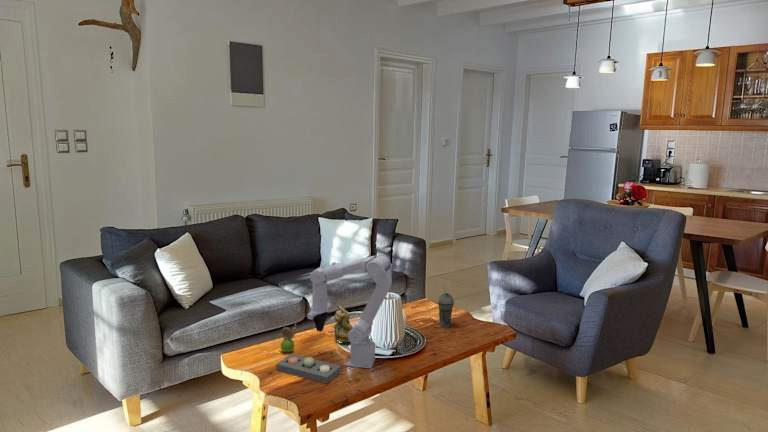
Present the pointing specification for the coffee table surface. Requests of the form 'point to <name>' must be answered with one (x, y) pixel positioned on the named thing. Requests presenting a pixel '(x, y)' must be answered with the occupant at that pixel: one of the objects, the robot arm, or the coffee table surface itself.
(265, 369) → the coffee table surface
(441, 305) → the beverage cup
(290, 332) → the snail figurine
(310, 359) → the sage button
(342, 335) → the decorative figurine
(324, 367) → the cream button
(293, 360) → the terracotta button
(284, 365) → the button panel
